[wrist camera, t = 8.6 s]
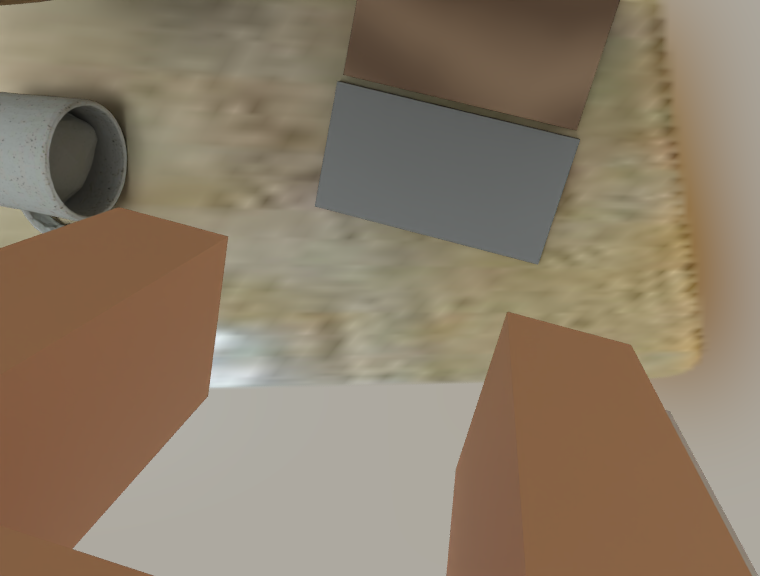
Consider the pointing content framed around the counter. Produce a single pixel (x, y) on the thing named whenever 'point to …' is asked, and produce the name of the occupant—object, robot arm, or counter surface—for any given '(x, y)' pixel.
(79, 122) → the ceramic mug
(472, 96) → the hook stand
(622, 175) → the counter surface
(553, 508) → the orange notched block
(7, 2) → the plant pot
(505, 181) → the mat
